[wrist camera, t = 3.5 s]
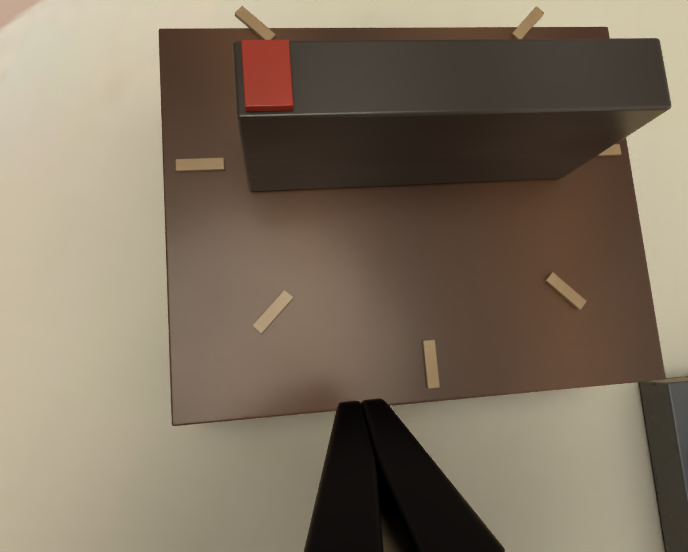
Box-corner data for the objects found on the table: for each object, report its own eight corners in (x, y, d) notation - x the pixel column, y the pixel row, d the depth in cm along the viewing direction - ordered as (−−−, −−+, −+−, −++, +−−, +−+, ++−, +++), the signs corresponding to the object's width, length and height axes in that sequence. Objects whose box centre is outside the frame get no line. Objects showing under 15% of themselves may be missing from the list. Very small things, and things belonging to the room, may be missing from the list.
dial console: (531, 41, 24) (600, -46, 19) (579, 375, 22) (670, 379, 17) (183, 43, 22) (154, -52, 17) (198, 409, 20) (170, 427, 15)
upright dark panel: (554, 126, 18) (668, 30, 13) (563, 179, 17) (681, 103, 12) (246, 135, 16) (230, 32, 11) (249, 192, 16) (235, 113, 11)
